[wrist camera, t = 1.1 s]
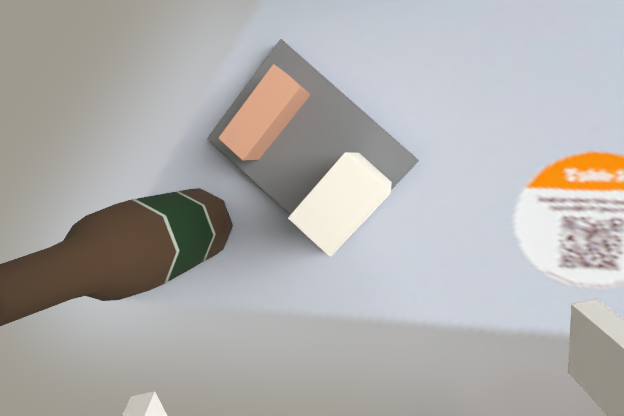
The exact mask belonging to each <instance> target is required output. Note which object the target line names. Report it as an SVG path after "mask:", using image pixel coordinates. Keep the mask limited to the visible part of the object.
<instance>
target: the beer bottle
mask: <svg viewBox="0 0 624 416" xmlns="http://www.w3.org/2000/svg"><path fill="white" fill-rule="evenodd" d="M232 227H233V225H232V222H231V219H230V217H229V214H228V211H227V209H226V206H225V203H224V201H223V200H221V199H219V198H217V197H216V196H214V195H212V194H210V193H208V192H206V191H204V190H202V189H189V190H183V191H178V192H172V193H166V194H161V195H155V196H149V197H144V198H138V199H132V200H128V201H125V202H122V203H118V204H115V205H112V206H110V207H107V208H105V209H102V210H100V211H97V212H95V213H92V214H90V215H87V216H85V217H84V218H82V219H81V220H80V221H78V222H77V223H75V224H74V225H73V226H72V228H71V229H70V231H69V232H68V234H67V236H66V237H65V239H64V240H63V241H62V242H60V243H58V244H56V245H54V246H52V247H50V248H47V249H44V250H41V251H38V252H35V253H32V254H29V255H26V256H23V257H20V258H18V259H14V260H12V261H8V262H6V263H3V264H0V326H2V325H4V324H7V323H9V322H12V321H15V320H18V319H20V318H23V317H26V316H28V315H31V314H33V313H36V312H39V311H41V310H44V309H47V308H49V307H52V306H55V305H57V304H59V303H62V302H65V301H67V300H70V299H73V298H78V297H82V296H89V297H92V298H95V299H99V300H102V301H109V300H120V299H123V298H126V297H130V296H133V295H136V294H139V293H142V292H145V291H149V290H151V289H153V288H156V287H158V286H160V285H162V284H165V283H166V282H168V281H170V280H172V279H174V278H175V277H177V276H179V275H181V274H182V273H184V272H186V271H188V270H189V269H191V268H193V267H195V266H196V265H198V264H200V263H202V262H204V261H205V260H207V259H209V258H211V257H212V256H214V255H216V254H217V253H219V252H220V251H221V250H223V248H224V246H225V243H226V241H227V239H228V236H229V234H230V231H231V229H232Z"/></svg>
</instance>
